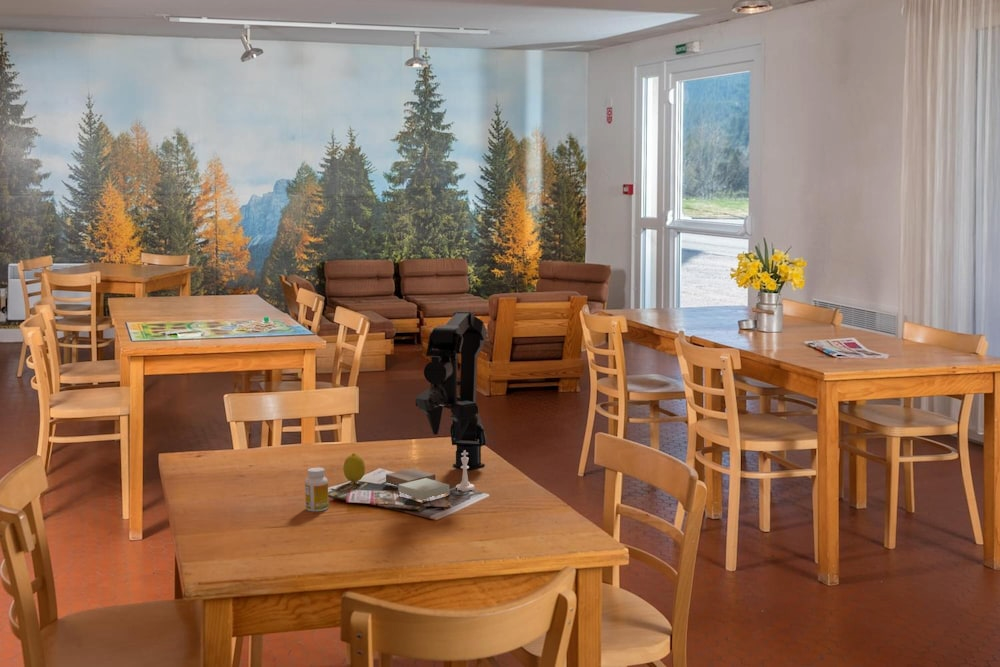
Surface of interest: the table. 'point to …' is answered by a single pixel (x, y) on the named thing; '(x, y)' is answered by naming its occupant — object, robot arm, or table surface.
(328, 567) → the table surface
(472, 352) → the robot arm
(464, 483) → the chess piece
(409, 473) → the walnut slab
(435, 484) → the sage slab
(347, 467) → the lemon
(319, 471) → the supplement bottle
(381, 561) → the table surface
